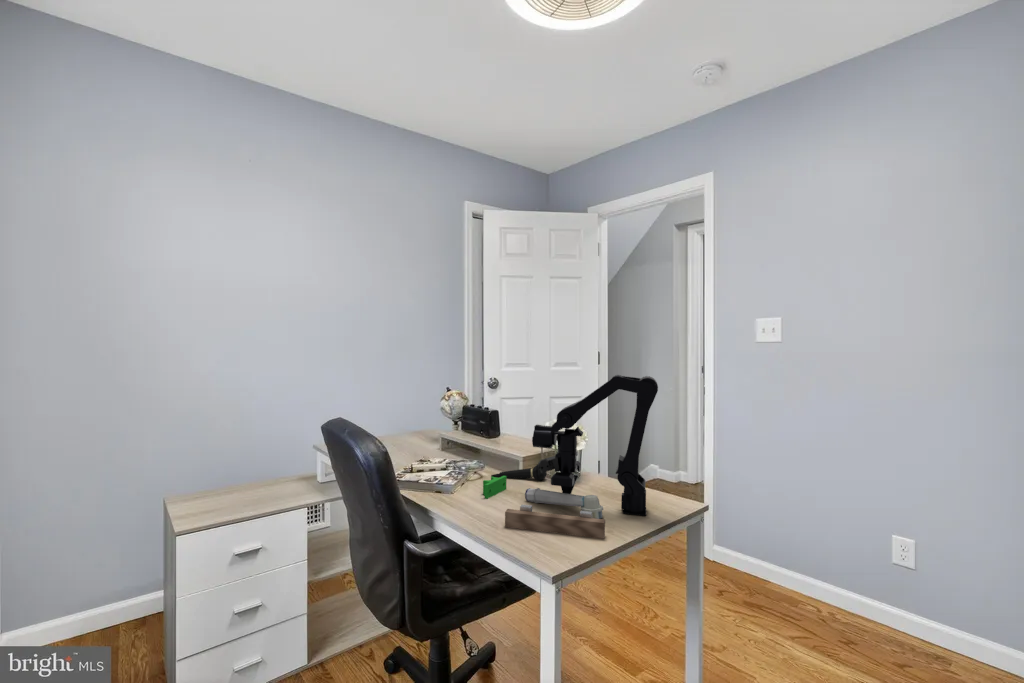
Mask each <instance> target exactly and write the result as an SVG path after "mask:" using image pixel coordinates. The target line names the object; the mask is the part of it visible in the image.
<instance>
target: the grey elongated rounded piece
mask: <svg viewBox="0 0 1024 683" xmlns="http://www.w3.org/2000/svg"><path fill="white" fill-rule="evenodd" d="M524 499H525V500H526V502H530V503H535V504H546V505H547V504H548V505H549V504H550V505H559V506H570V507H580V509H581V510H580V511H587V512H592V518H595V519H603V517H604V516H603V511H604V506H603V505H600V499H599V497H598V495H595V494H587V495H580V494H573V493H571V494H568V493H562V491H561V492H560V491H554V490H547V489H541V488H539V487H536V488H527V489H525V492H524Z"/></svg>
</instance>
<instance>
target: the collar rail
mask: <svg viewBox="0 0 1024 683" xmlns="http://www.w3.org/2000/svg"><path fill="white" fill-rule="evenodd" d="M504 527H505V528H509V529H510V528H513V529H521V530H527V531H528V530H529V531H535V532H546V533H553V534H560V535H569V536H577V537H586V538H595V539H602V540H604V539H605V535H606V519H604V518H600V519H596V518H592V512H587V511H582V510H580V511H579V516H576V515H575V516H574V515H566V514H559V513H558V514H557V513H549V512H540V511H533V505H531V504H521V505H520V506H519V509H513V508H512V509H511V508H507V509H506V510H505V511H504Z"/></svg>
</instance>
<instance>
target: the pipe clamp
mask: <svg viewBox="0 0 1024 683" xmlns="http://www.w3.org/2000/svg"><path fill="white" fill-rule="evenodd" d="M507 479H508V478H507V476H502V477H491V476H490V479H484V480H483V481H482V494H483V495H484V499H485V500H486V499H490V498H492V497H493V496H496V495H498V494H500V493H502V492H504V491H505V490H507Z"/></svg>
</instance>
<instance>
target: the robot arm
mask: <svg viewBox="0 0 1024 683" xmlns="http://www.w3.org/2000/svg"><path fill="white" fill-rule="evenodd" d="M618 390H621V391H625V392H630V393H636V406H635V412H634V413H635V414H634V417H633V421H632V427H631V430H630V435H629V440H628V444H627V449H626V452H625V453H624V456H623V455H619V457H618V465H617V467H616V469H615V475H617V481H618V482H619V484H620V486H622V487H623V492H622V493H621V506H620V507H621V510H622V514H624V515H631V516H632V515H633V516H642V517H643V516H644V517H646V516H647V489H646V479H645V478H644V477H643V476H642V475H641V474H640V473H639V465H640V464H639V463H640V462H639V461H640V453H641V452H640V451H641V448H642V443H643V441H644V440H643V439H644V434H645V429H646V426H647V421H648V416H649V412H650V409H651V407H652V405H653V403H654V401H655V399H656V396H657V395H658V391H659V386H658V382H657V380H656V379H655V378H653V377H652V376H648V375H646V376H642V377H641V378H640V377H633V376H625V375H620V374H615V375H614V376H612V377H611V378H610V379H609V380H607V381H606V382H605V383H603V384H602V385H601V386H599V387H598V388H597V389H595V390H594V391H592V392H591V393H589V394H588V395H587V396H585V397H584V398H582V399H581V400H579V401H576V402H574V403H572V404H570V405H567V406H565V407H563V408H562V409H561V410H560V411H558V413H557V415H556V421H555V422H554V423H553V424H551V425H542V424H535V425H534V427H533V428H534V430H533V433H532V434H533V435H532V438H531V440H532V441H531V443H532V447H533V448H540V449H541V448H542V449H553V447H554V446H556V445H557V452H556V453H555V455H554V456H549V457H544V458H543V459H540V460H539V462H538V465H539V467H538V468H539V469H540V470H541V473H545V472H549V471H553V470H554V473H553V475H552V476H551V477H550V485H551V486H556V487H558V486H559V487H560V488H561V493H568V494H573V493H572V492H573V490H574V488H575V485H576V482H577V480H578V478H579V477H578V475H576V474H574V473H576V472H577V473H580V472H581V470H582V464H581V462H579V460H577V456H578V454H579V453H578V450H577V447H578V446H577V444H578V442H577V439H578V437H583V435H584V431H582V430H581V429H580V427H579V426H577V427H575V429H573V427H574V426H575V425H576V424H577V423H578V422H579V420H581V419H582V417H583V416H584V415H585V414H586V413H587V412H588V411H590V410H591V409H594V407H595V406H597V405H599V404H600V403H601V402H602V401H604V400H605V399H607V398H609V397H610V396H612V394H614V393H615V392H617V391H618ZM563 429H564V430H563ZM561 430H562V431H561Z"/></svg>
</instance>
